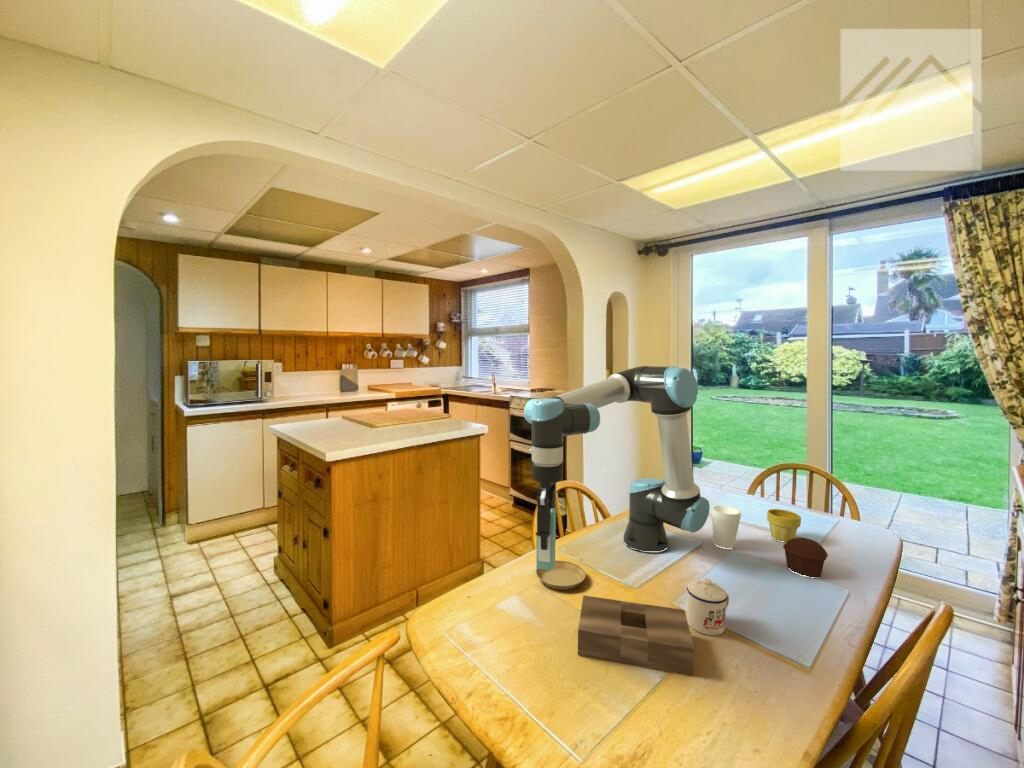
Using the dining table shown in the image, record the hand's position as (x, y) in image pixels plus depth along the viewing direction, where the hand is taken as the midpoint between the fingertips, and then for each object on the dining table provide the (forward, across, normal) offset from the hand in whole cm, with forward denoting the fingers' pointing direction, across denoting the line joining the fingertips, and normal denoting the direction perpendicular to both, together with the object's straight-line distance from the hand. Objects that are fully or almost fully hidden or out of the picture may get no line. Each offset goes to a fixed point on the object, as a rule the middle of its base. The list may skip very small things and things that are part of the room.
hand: (546, 556), depth 105 cm
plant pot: (+18, -71, +76) cm, 105 cm away
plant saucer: (+18, -22, +1) cm, 28 cm away
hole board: (+18, +2, +21) cm, 27 cm away
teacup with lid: (+18, -11, +40) cm, 45 cm away
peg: (+2, 0, 0) cm, 2 cm away
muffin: (+18, -47, +74) cm, 89 cm away
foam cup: (+18, -60, +54) cm, 82 cm away
